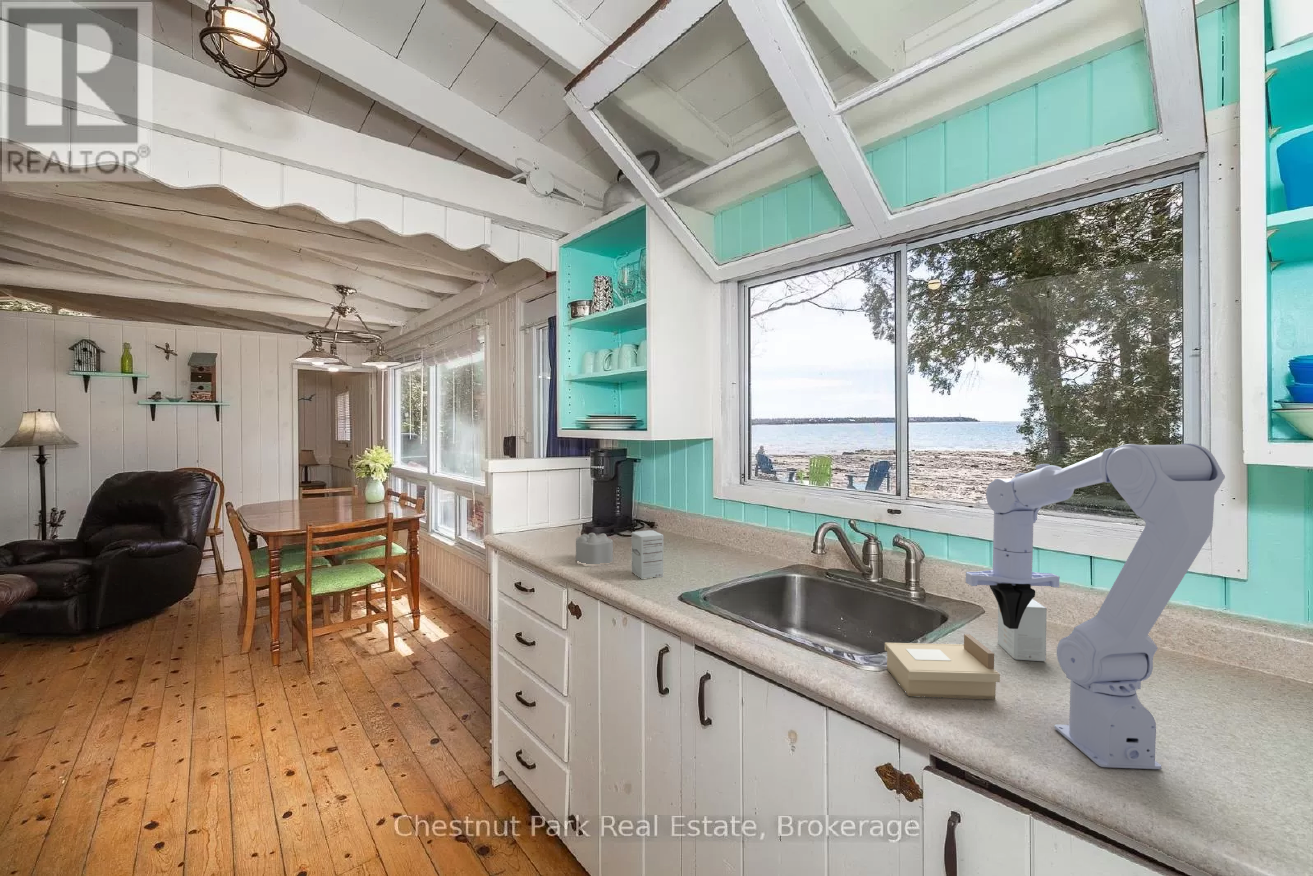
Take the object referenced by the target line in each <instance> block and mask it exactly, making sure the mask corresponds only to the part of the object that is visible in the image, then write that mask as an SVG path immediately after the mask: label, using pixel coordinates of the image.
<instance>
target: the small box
mask: <svg viewBox="0 0 1313 876" xmlns="http://www.w3.org/2000/svg"><path fill="white" fill-rule="evenodd" d="M1047 609H1048V608H1047V607H1046V606H1045V605H1043V604H1041V603H1040V602H1038V601H1037V600H1035V599H1034V598H1033V599H1032V600H1031V601H1030V603H1029V604H1028V606H1027V607H1026V609H1025V611H1024V613H1023V615H1022V618H1021V621H1020V624H1019V627H1018V629H1009V628H1008V627H1006V626H1005V625H1004V624H1003V619H1002V615H1001V611H1000V608H999V605H998V604H997V644H998V645H999V646H1000V647H1001V648H1002V649H1003V650H1004V651H1005V652H1006V653H1007V654H1008V655H1009V656H1010V657H1012V659H1014V660H1016V661H1017V660H1018V661H1035V662H1047Z"/></svg>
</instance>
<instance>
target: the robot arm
mask: <svg viewBox="0 0 1313 876" xmlns="http://www.w3.org/2000/svg"><path fill="white" fill-rule="evenodd" d="M1225 479H1226V475H1225V474H1224V472H1223V470H1222V468H1221V467H1220V465H1219V463H1218V461H1217V459H1216V457H1215V456H1214V454H1213V453H1212V452H1211V451H1210V450H1208V449H1207V448H1206V447H1205V446H1202V445H1200V444H1196V443H1192V442H1191V443H1181V444H1137V443H1136V444H1134V443H1125V444H1121V445H1119V446H1117V447H1112V448H1111V447H1110V448H1106V449H1104V450H1103V451H1102V452H1100V453H1097V454H1095V455H1093V456H1090V457H1088V458H1085V459H1083V460H1081V461H1078V462H1075V463H1073V464H1071V465H1068V466H1066V467H1063V468H1062V467H1061V466H1058V465H1054V464H1053V465H1050V463H1040V464H1037V465H1035V470H1032V471H1029V472H1027V473H1026V472H1019V473H1016V474H1015V475H1014V477H1013V478H1011V479H1004V478H995V479H994V480H993V481H991V482H990V483H989V484H988V486H987V488H986V492H985V493H986V494H985V497H986V502H987V505H988V506H989V508H990V509H991V510H992V511H993V539H992V543H993V544H992V569H990V570H989V569H987V570H978V571H966V572H965V583H966V584H967V585H968V586H971V587H977V586H989V588H990V590H991V591H992V593H993V596H994V597H995V600H996V603H997V606H998V605H999V608H1000V611H1001V615H1002V619H1003V624H1004V625H1005V626H1006V627H1008V628H1009V629H1018V627H1019V624H1020V621H1021V618H1022V615H1023V613H1024V611H1025V609H1026V607H1027V606H1028V604H1029V603H1030V601H1031V600H1032V599H1034V598H1035V597H1036V590H1035V589H1034V588H1031V587H1052V588H1060V576H1059V575H1057V574H1054V573H1052V572H1051V573H1049V572H1038V571H1037V572H1036V571H1033V554H1034V553H1033V552H1034V549H1033V548H1034V524H1035V523H1036V521H1038V513H1039V511H1040V510H1041V509H1042V507H1045V506H1050V505H1053V504H1056V503H1057V504H1058V503H1060V502H1064V501H1067V500H1069V499H1071V498H1072V496H1073V495H1074V492H1075V490H1077V489H1080V488H1086V487H1088V486H1093V485H1094V486H1095V485H1098V484H1102V483H1107V484H1108V483H1111V485H1112V486H1113V488H1114V489H1115V490H1116V491H1117V492H1118V494H1119V495H1120V496H1121V497H1122V498H1123V500H1124V501H1125V502H1126V503H1127V505H1128V506H1129V508H1131V510H1132V511H1133V512H1134V514H1135V515H1136V516H1137V517H1139V518H1140V519H1143V521H1144V522H1145V526H1144V528H1143V530H1142V532H1141V533H1140V535H1139V537H1138V539H1137V541H1136V543H1135V544H1134V546H1133V548H1132V550H1131V551H1130V553H1129V555H1128V557H1127V559H1126V561H1125V562H1124V565H1123V566H1122V567H1121V569H1120V572H1119V573H1118V575H1117V578H1115V581H1114V582H1113V584H1112V586H1111V588H1110V589H1109V591H1108V593H1107V594H1106V597H1105V599H1104V601H1103V603H1102V604H1101V606H1100V608H1099V610H1098V612H1097V614H1095V616H1093V617H1091V618H1089V619H1087V620H1085V621H1083V622H1081V623H1080V624H1078V625H1076V626H1075V627H1074V628H1073V629H1072V632H1071V633H1069V635H1067V636H1065V637H1062V638H1061V639H1060V640H1059V641H1058V643H1057V646H1056V658H1057V661H1058V665H1059V666H1060V669H1061V671H1062V672H1063V673H1064V674H1065V677H1066V679H1068V680H1070V681H1069V682H1070V685H1069V717H1068V718H1069V719H1068V721H1069V722H1068V724H1056V723H1055V724H1054V726H1053V727H1054V729H1055V730H1056V731H1058V732H1059V733H1060V734H1061V735H1062V736H1063V737H1064V738H1065V739H1066V740H1068V741H1069V742H1070V743H1071V744H1073V745H1074V746H1075V747H1076V748H1077V749H1078V750H1080V752H1082V753H1083V754H1084V755H1085V756H1087V758H1089V759H1090V760H1091V761H1092V762H1094V763H1095V764H1096V765H1097V766H1099V767H1102V768H1116V769H1117V768H1118V769H1121V768H1122V769H1140V770H1141V769H1143V770H1144V769H1145V770H1146V769H1147V770H1162V765H1161V763H1159V762H1158V761H1157V760H1156V738H1157V735H1156V734H1157V723H1156V719H1155V717H1154V715H1153V714H1152V712H1151V711H1149V710H1148V708H1146V707H1145V706H1144V705H1143V704H1142V703H1141V701H1140V699H1139V697H1138V695H1137V690H1141V688H1142V686H1141V685H1142V682H1143V681H1146V680H1147V679H1148V678H1150V677H1151V676H1152V674H1153V673H1152V672H1153V669H1154V656H1155V654H1156V653H1157V651H1158V646H1157V644H1156V643H1155V641H1154V640H1153V639H1152V637H1151V636H1150V635H1149V634H1150V632H1151V630H1152V628H1153V627H1154V625H1155V624H1156V622H1157V621H1158V619H1159V618H1160V616H1161V614H1162V613H1163V611H1164V610H1165V608H1166V606H1167V605H1168V603H1169V602H1170V600H1171V598H1172V597H1173V595H1174V593H1175V591H1176V590H1177V589H1178V587H1179V585H1180V584H1181V582H1182V580H1183V579H1184V577H1185V575H1186V574H1187V573H1188V570H1189V569H1190V567H1191V566H1192V564H1193V563H1194V561H1195V559H1196V558H1197V556H1198V555H1199V553H1200V551H1202V548H1203V546H1204V545H1205V544H1206V542H1207V540H1208V539H1209V537H1210V536H1211V533H1212V532H1213V526H1214V510H1215V509H1214V508H1215V495H1216V494H1217V492H1218V490H1219V488H1220V487H1221V485H1222V483H1223V482H1224V480H1225Z"/></svg>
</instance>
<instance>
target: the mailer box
mask: <svg viewBox="0 0 1313 876" xmlns="http://www.w3.org/2000/svg"><path fill="white" fill-rule="evenodd" d="M886 653H887V654H886V670H887V669H888V670H887V672H888V673H889V672H890V673H891V674H892V675H891V674H890V673H889V674H890V675H891V676H892V678H893V677H894V678H895V679H896V680H897V682H898V683H899V684H900V685H899V684H898V683H897V682H896V683H897V684H898V685H899V687H900V686H901V687H902V688H903V689H904V691H906V693H907V694H906V693H905V694H906V696H907V695H908V696H920V697H919V698H925V697H938V698H937V699H960V700H961V699H963V700H994V701H996V694H997V693H996V689H997V682H973V681H937V680H909V679H908V671H907V670H906V669H905V668H904V667H903V666H902V664H901V663H900V662H899V661H898V660H897V659H896V657H895V656H894V655H893V654H892V653H891V651H890V650H889V649H888V648H887V651H886ZM894 678H893V679H894ZM895 679H894V680H895ZM896 680H895V681H896ZM901 687H900V688H901ZM902 688H901V689H902ZM903 689H902V690H903ZM904 691H903V692H904ZM908 696H907V697H908ZM922 696H923V697H922ZM924 696H925V697H924ZM939 697H940V698H939ZM941 697H943V698H941Z"/></svg>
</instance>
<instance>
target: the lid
mask: <svg viewBox="0 0 1313 876" xmlns="http://www.w3.org/2000/svg"><path fill="white" fill-rule="evenodd" d="M887 648H888V649H889V650H890V651H891V653H892V654H893V655H894V656H895V657H896V659H897V660H898V661H899V662H900V663H901V664H902V666H903V667H904V668H905V669H906V670H907V671H908V679H909V680H937V681H973V682H996V683H1000V682H1001V680H1000V679H1001V677H1000V676H1001V673H1000V672H998V671H997V670H996V669H995V653H994V652H993V651H992V650H991V649H989V648H988V647H987V646H985V645H984V644H983V643H981V641H979V640H978V639H976V637H974V636H973V635H971V634H970V633H969V634H968V633H964V635H963V644H962V643H960V644H958V643H957V644H955V643H922V642H921V643H919V642H918V643H915V642H913V643H912V642H884V651H885V652H887Z"/></svg>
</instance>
